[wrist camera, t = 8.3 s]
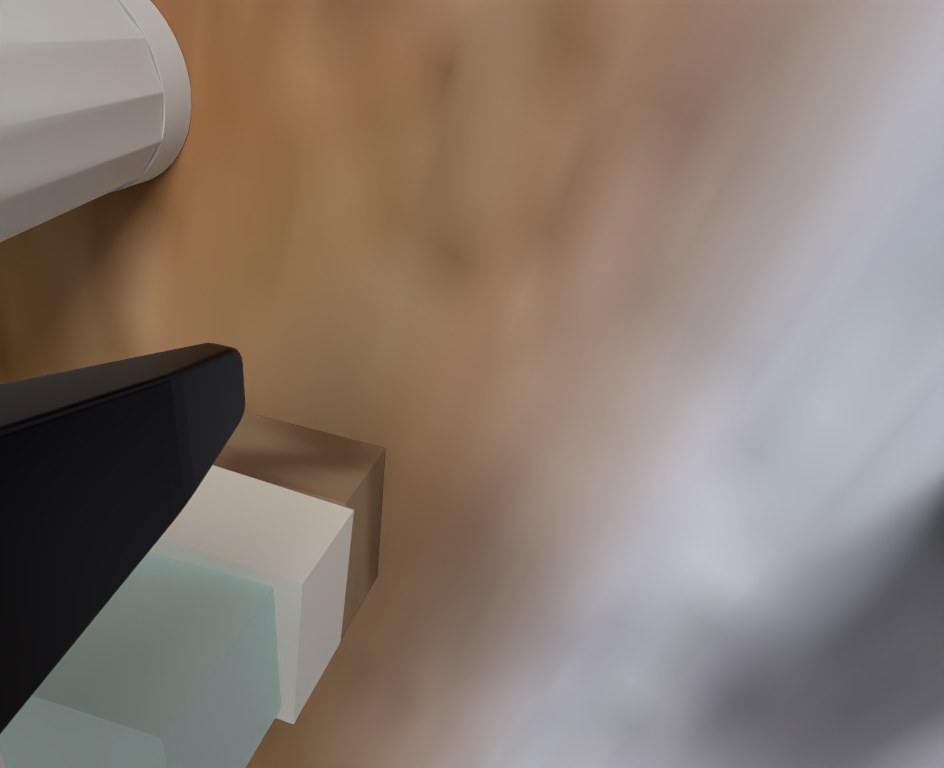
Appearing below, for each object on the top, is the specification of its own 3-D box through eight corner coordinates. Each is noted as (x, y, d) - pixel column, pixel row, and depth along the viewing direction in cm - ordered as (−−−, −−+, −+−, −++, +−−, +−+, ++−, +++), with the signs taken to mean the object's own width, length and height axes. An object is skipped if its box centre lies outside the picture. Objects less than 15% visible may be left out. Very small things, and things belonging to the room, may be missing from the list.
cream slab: (353, 509, 24) (302, 584, 21) (340, 642, 27) (293, 724, 24) (183, 455, 25) (111, 519, 22) (188, 589, 28) (125, 661, 25)
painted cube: (273, 586, 21) (161, 738, 17) (281, 706, 23) (185, 867, 19) (117, 544, 22) (-25, 676, 18) (140, 663, 24) (20, 806, 20)
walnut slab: (387, 445, 27) (346, 502, 24) (378, 573, 30) (341, 639, 27) (234, 406, 28) (176, 456, 25) (240, 533, 31) (189, 591, 28)
